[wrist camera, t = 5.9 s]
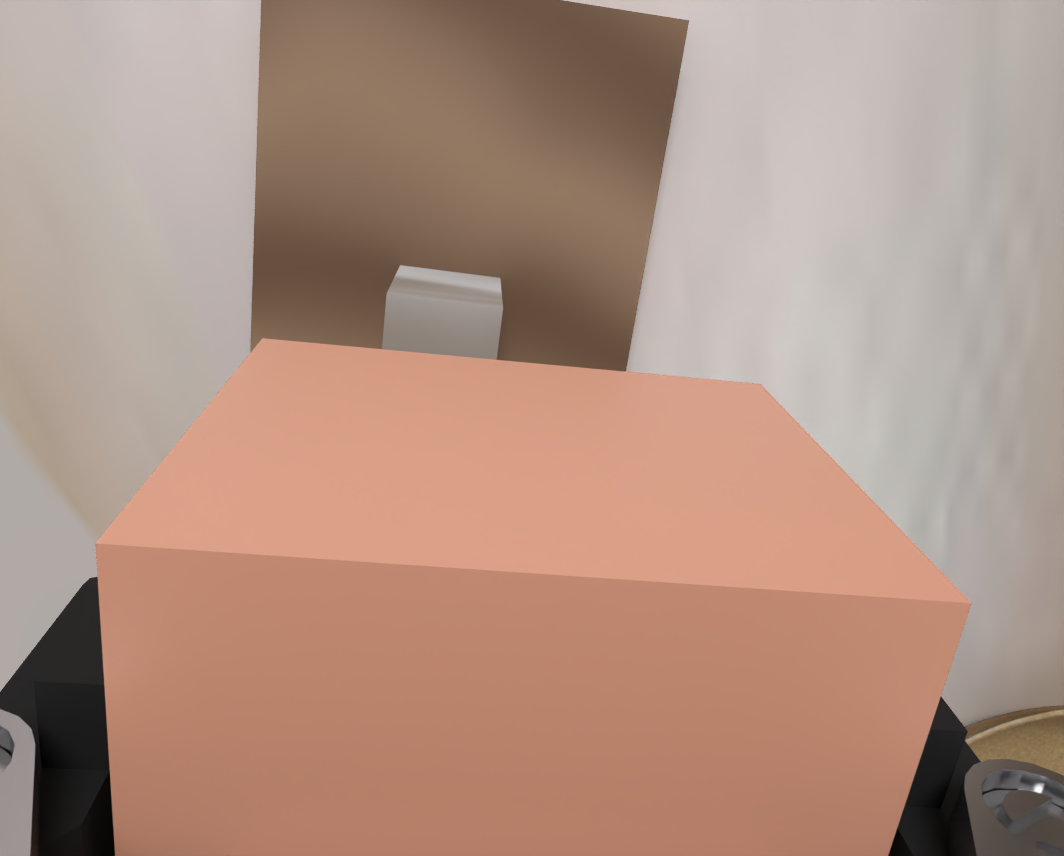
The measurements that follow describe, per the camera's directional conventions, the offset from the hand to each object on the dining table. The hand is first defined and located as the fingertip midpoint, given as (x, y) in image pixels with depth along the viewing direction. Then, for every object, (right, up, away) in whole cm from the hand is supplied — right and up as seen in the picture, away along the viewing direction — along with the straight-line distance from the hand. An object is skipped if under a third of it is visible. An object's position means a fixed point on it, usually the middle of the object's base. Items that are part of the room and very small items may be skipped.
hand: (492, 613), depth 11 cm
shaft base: (-2, +6, +14) cm, 15 cm away
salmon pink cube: (0, 0, +1) cm, 1 cm away
